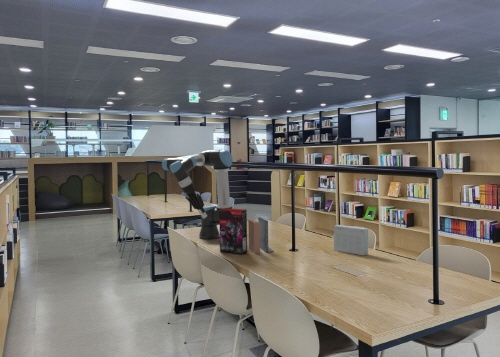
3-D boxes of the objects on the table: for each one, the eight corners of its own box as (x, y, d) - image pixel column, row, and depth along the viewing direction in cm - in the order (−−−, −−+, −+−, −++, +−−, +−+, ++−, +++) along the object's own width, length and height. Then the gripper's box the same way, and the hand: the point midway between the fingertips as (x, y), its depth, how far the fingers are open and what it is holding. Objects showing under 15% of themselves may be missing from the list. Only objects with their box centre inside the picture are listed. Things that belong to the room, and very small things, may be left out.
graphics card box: (219, 252, 250) (218, 209, 249) (224, 249, 257) (224, 207, 255) (242, 254, 242) (242, 210, 241) (248, 252, 249) (247, 209, 247)
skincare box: (368, 254, 240) (368, 228, 239) (364, 256, 236) (364, 229, 235) (337, 248, 254) (337, 224, 253) (333, 250, 250) (333, 225, 249)
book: (248, 248, 259) (248, 219, 258) (253, 247, 260) (253, 219, 259) (254, 253, 246) (253, 222, 245) (259, 252, 247) (259, 222, 246)
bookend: (258, 246, 262) (258, 216, 261) (266, 246, 264) (265, 216, 262) (266, 252, 247) (265, 220, 246) (274, 252, 248) (273, 220, 247)
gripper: (176, 189, 244) (195, 221, 249) (189, 185, 235) (208, 219, 240) (184, 183, 249) (202, 215, 254) (197, 179, 240) (215, 212, 246)
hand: (205, 217), depth 247 cm, fingers closed
